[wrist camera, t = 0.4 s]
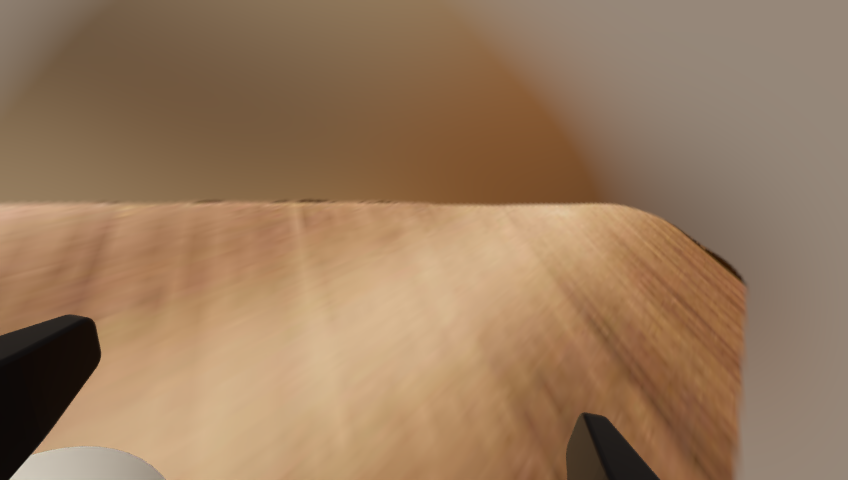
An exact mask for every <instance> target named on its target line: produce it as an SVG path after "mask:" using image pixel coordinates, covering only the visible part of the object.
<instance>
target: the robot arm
mask: <svg viewBox="0 0 848 480" xmlns="http://www.w3.org/2000/svg"><path fill="white" fill-rule="evenodd" d="M100 358H101V349H100V344H99V339H98V334H97V329H96V325H95V322H94V321H93V320H92V319H90V318H88V317H83V316H77V315H64V316H61V317H58V318H54V319H51V320H48V321H45V322H42V323H39V324H36V325H32V326H29V327H26V328H23V329H20V330H17V331H14V332H10V333H7V334H4V335H1V336H0V480H10V478H11V477H12V476H13V475H14V474H15V473H16V472H17V470H18V469H19V468H20V467H21V466H22V465H23V463H24V462H25V461H26V460H27V459H28V458H29V457H30V455H31V454H32V453H33V452H34V451H35V450H36V448H37V447H38V446H39V445H40V444H41V442H42V441H43V440H44V439H45V437H46V436H47V435H48V433H49V432H50V431H51V429H52V428H53V427H54V425H55V424H56V423H57V421H58V420H59V418H60V417H61V416H62V414H63V413H64V412H65V410H66V409H67V407H68V406H69V405H70V403H71V402H72V401H73V399H74V398H75V396H76V395H77V394H78V392H79V391H80V390H81V388H82V387H83V385H84V384H85V383H86V381H87V380H88V379H89V377H90V376H91V374H92V373H93V372H94V370H95V369H96V367H97V366H98V364H99V362H100ZM566 465H567V480H660V479H659V478H658V477H657V475H656V474H655V473H654V472H653V471H652V470H651V468H650V467H649V466H648V465H647V464H646V463H645V461H644V460H643V459H642V458H641V457H640V456H639V455H638V453H637V452H636V451H635V450H634V449H633V448H632V446H631V445H630V444H629V443H628V442H627V441H626V439H625V438H624V437H623V436H622V435H621V434H620V433H619V431H618V430H617V429H616V428H615V427H614V426H613V424H612V423H611V422H610V421H609V420H608V419H607V418H606V417H604V416H602V415H597V414H591V413H586V412H584V413H581V414H580V415H579V417H578V419H577V421H576V424H575V427H574V429H573V432H572V434H571V437H570V439H569V442H568V445H567V451H566Z"/></svg>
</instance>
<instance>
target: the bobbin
mask: <svg viewBox="0 0 848 480" xmlns="http://www.w3.org/2000/svg"><path fill="white" fill-rule="evenodd" d="M10 480H166V479H165V478H164V477H163V475H161V474H160V473H159V472H158V471H157V470H156V469H155V468H154V467H153V466H152V465H150V464H149V463H147V462H146V461H144V460H143V459H141V458H139V457H136V456H134V455H132V454H130V453H127V452H123V451H120V450H117V449H111V448H105V447H91V446H80V447H67V448H60V449H55V450H49V451H45V452H41V453H37V454H33V455H30V457H29V458H28V459H27V460H26V461H25V462H24V463H23V465H22V466H21V467H20V468H19V469H18V470H17V472H16V473H15V474H14V475H13V476H12V477H11V478H10Z"/></svg>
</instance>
